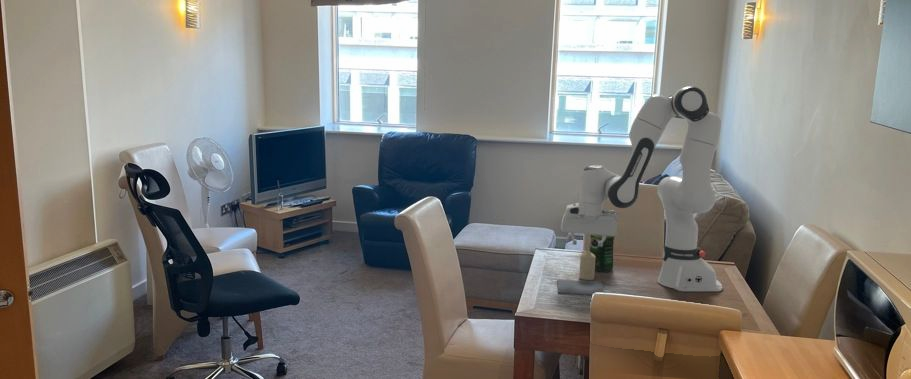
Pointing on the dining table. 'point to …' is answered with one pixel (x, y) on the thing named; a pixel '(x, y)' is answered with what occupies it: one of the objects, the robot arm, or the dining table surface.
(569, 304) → the dining table surface
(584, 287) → the placemat
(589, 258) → the candle
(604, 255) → the coffee jar
